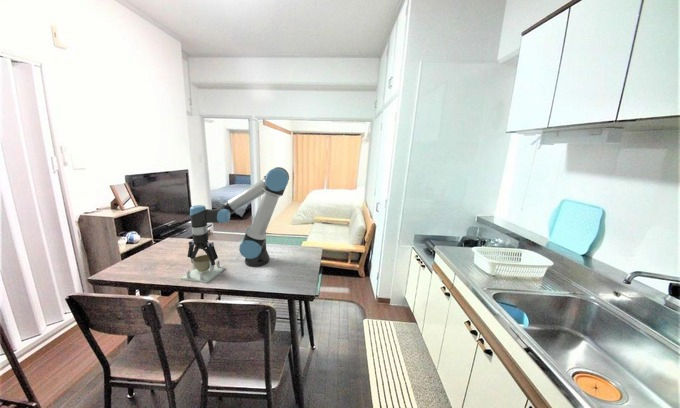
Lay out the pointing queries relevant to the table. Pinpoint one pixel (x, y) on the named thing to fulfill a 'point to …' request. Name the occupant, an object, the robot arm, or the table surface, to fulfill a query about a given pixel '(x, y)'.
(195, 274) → the tray
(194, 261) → the tan round bowl
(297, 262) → the table surface
